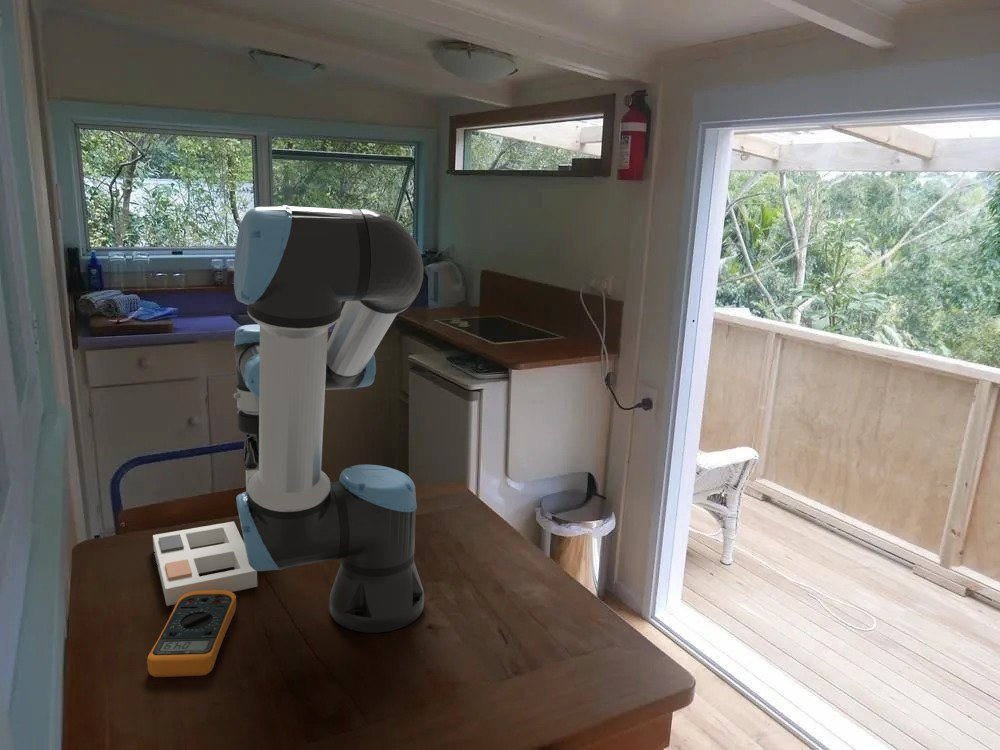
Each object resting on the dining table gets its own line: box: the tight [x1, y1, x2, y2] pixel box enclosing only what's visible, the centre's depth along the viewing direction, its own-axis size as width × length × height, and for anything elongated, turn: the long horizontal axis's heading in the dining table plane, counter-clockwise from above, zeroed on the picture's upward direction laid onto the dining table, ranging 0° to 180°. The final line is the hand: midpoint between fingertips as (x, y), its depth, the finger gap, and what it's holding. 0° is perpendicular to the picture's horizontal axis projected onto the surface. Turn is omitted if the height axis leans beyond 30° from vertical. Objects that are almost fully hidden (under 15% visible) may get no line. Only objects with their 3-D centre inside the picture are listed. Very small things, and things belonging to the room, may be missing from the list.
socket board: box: [152, 521, 258, 607], centre depth 128 cm, size 20×14×4 cm
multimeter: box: [146, 590, 237, 678], centre depth 109 cm, size 9×18×3 cm, turn 7°
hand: (261, 513), depth 142 cm, fingers open, 13 cm apart
